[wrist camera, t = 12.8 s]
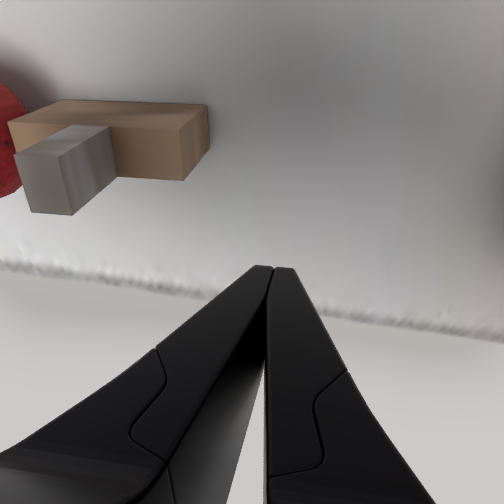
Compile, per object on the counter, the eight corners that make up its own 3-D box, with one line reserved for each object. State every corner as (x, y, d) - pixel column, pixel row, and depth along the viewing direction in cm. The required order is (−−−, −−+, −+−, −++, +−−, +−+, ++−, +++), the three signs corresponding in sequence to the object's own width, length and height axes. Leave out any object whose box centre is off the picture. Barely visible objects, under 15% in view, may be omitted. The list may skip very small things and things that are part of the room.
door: (206, 104, 19) (141, 162, 13) (209, 148, 20) (150, 221, 14) (62, 99, 20) (-64, 150, 14) (72, 141, 21) (-42, 206, 15)
